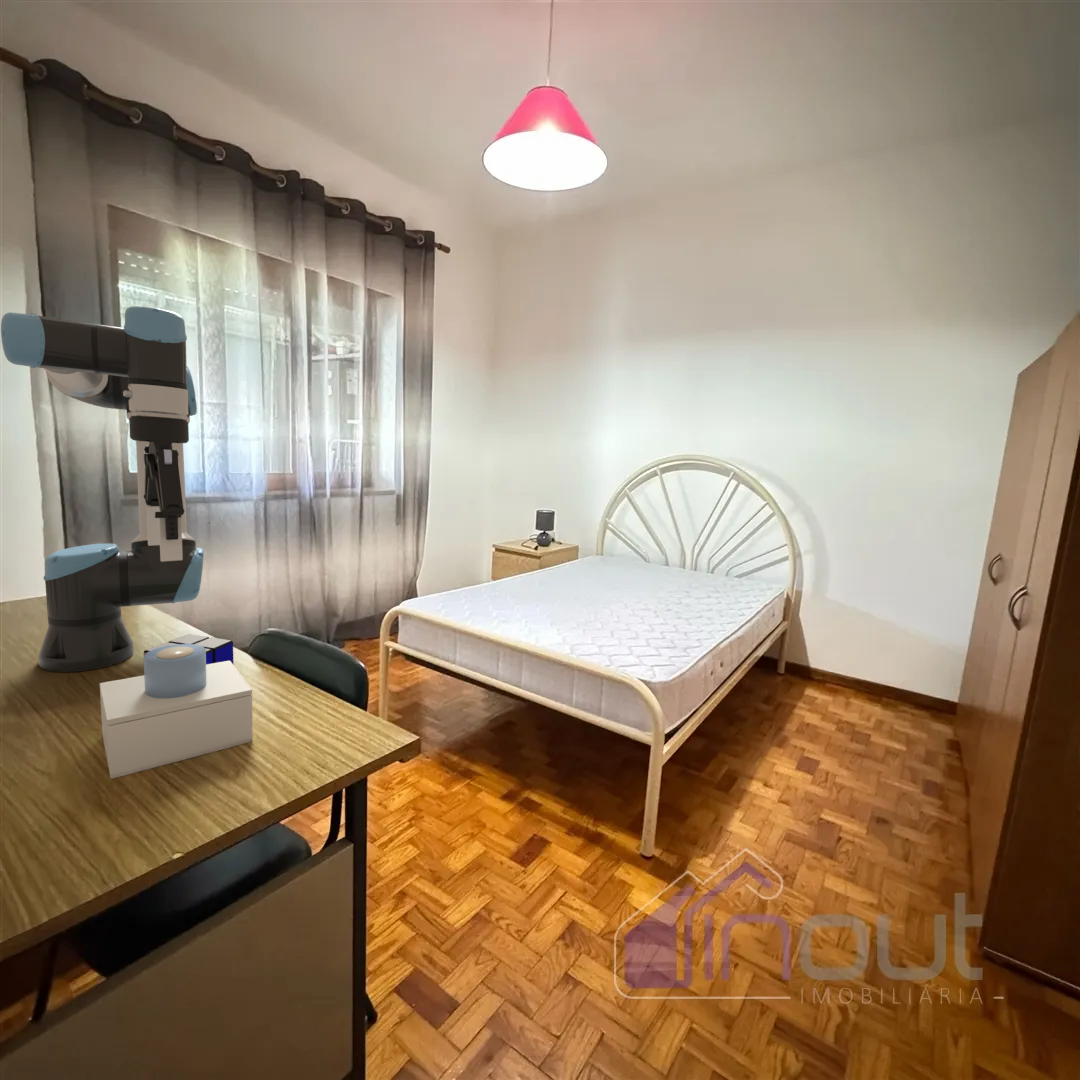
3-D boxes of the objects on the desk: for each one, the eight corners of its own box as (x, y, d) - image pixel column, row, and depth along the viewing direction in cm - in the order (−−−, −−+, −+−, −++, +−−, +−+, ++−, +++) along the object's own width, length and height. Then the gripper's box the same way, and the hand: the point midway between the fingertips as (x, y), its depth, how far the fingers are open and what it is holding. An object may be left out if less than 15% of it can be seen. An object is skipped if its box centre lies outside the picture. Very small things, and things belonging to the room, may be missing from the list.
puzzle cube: (193, 713, 97) (191, 658, 95) (144, 704, 98) (141, 650, 97) (235, 690, 106) (234, 640, 105) (189, 682, 108) (188, 633, 107)
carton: (102, 736, 88) (99, 689, 86) (230, 707, 99) (230, 665, 98) (110, 779, 77) (107, 726, 76) (252, 741, 89) (252, 695, 88)
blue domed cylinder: (141, 683, 87) (140, 648, 86) (200, 672, 92) (199, 639, 91) (148, 703, 81) (147, 666, 80) (211, 690, 86) (210, 655, 85)
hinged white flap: (99, 688, 86) (99, 683, 86) (230, 664, 98) (229, 660, 98) (107, 725, 76) (107, 720, 76) (252, 694, 88) (251, 689, 88)
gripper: (120, 413, 92) (126, 540, 96) (139, 413, 74) (146, 570, 77) (174, 417, 97) (178, 538, 101) (204, 418, 79) (208, 565, 82)
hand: (164, 552), depth 89 cm, fingers open, 13 cm apart
